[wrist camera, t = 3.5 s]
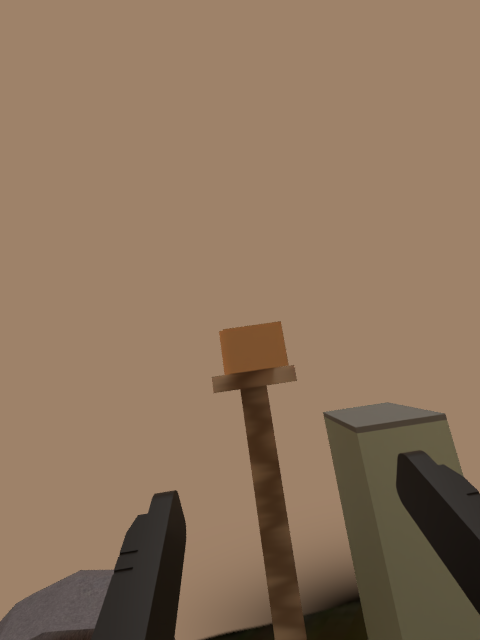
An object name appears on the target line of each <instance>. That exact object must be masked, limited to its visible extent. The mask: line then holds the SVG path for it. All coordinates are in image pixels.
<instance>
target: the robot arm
mask: <svg viewBox="0 0 480 640" xmlns="http://www.w3.org/2000/svg"><path fill="white" fill-rule="evenodd" d="M396 489H397V493H398V496H399V498H400V500H401V502H402V504H403V506H404V507H405V509H406V510H407V511H408V513H409V514H410V516H411V517H412V519H413V520H414V521H415V523H416V524H417V526H418V527H419V529H420V530H421V532H422V533H423V534H424V536H425V537H426V539H427V540H428V542H429V543H430V544H431V546H432V547H433V549H434V550H435V552H436V553H437V554H438V556H439V557H440V559H441V560H442V562H443V563H444V565H445V566H446V567H447V569H448V570H449V572H450V573H451V575H452V576H453V577H454V579H455V580H456V582H457V583H458V585H459V586H460V587H461V589H462V590H463V592H464V593H465V595H466V596H467V598H468V599H469V600H470V602H471V603H472V605H473V606H474V608H475V609H476V610H477V612H478V613H479V615H480V494H479V492H478V490H477V489H476V488H475V487H474V486H472V485H471V484H470V483H469V482H468V481H467V480H466V479H465V478H464V477H463V476H462V475H460V474H458V473H457V472H455V471H454V470H452V469H450V468H449V467H447V466H446V465H444V464H442V465H437V464H436V463H435V462H434V461H433V459H432V458H431V457H430V456H429V455H428V454H426V453H425V452H424V451H422V450H417V451H411V452H405V453H400V454H398V458H397V475H396ZM185 545H186V523H185V518H184V515H183V511H182V507H181V503H180V499H179V495H178V493H177V491H176V490H175V491H170V492H163V493H157V494H154V496H153V498H152V501H151V505H150V508H149V512H148V514H143V515H138V516H137V518H136V519H135V521H134V522H133V524H132V525H131V527H130V528H129V530H128V531H127V533H126V536H125V539H124V542H123V545H122V548H121V551H120V556H119V557H118V560H117V563H116V566H115V569H114V574H113V575H112V578H111V581H110V584H109V587H108V590H107V593H106V596H105V599H104V602H103V605H102V608H101V611H100V614H99V617H98V620H97V623H96V626H95V629H94V632H93V635H92V638H91V640H174V635H175V627H176V619H177V610H178V602H179V594H180V586H181V578H182V570H183V562H184V553H185Z"/></svg>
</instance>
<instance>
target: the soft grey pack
mask: <svg viewBox="0 0 480 640" xmlns="http://www.w3.org/2000/svg"><path fill="white" fill-rule="evenodd" d="M113 574H114V570H80V571H78V572H76V573H74V574H72V575H70V576H68V577H66V578H64V579H62V580H60V581H58V582H56V583H54V584H52V585H50V586H48V587H46V588H44V589H42V590H40V591H38V592H36V593H34V594H32V595H30V596H29V597H27V598H25V599H23V600H22V601H20V602H18V603H17V604H15V606H14V607H13V608H12V609H11V610H10V611H9V613H8V614H7V615H6V616H5V617H4V618H3V619H2V621H1V622H0V640H91V638H92V635H93V632H94V629H95V626H96V623H97V620H98V617H99V614H100V611H101V608H102V605H103V602H104V599H105V596H106V593H107V590H108V587H109V584H110V581H111V578H112V575H113ZM174 640H175V638H174Z"/></svg>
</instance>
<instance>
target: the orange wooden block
mask: <svg viewBox="0 0 480 640" xmlns="http://www.w3.org/2000/svg"><path fill="white" fill-rule="evenodd" d="M219 334H220V342H221V349H222V357H223V365H224V372H225V375H229V374H236V373H243V372H250V371H257V370H263V369H270V368H277V367H282V366H288V359H287V354H286V349H285V343H284V337H283V331H282V326H281V322H272V323H266V324H259V325H252V326H244V327H237V328H230V329H224V330H223V331H220V332H219Z"/></svg>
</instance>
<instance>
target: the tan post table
mask: <svg viewBox="0 0 480 640" xmlns="http://www.w3.org/2000/svg"><path fill="white" fill-rule="evenodd" d="M291 381H297V379H296V373H295V368H294V365H291V366H284V367H277V368H270V369H263V370H257V371H250V372H243V373H236V374H229V375H223V376H215V377H212V382H213V391H214V393H217V392H224V391H231V390H238V389H240V390H241V397H242V404H243V411H244V419H245V426H246V433H247V440H248V448H249V455H250V462H251V470H252V476H253V484H254V491H255V498H256V506H257V513H258V520H259V527H260V535H261V542H262V549H263V556H264V564H265V571H266V577H267V585H268V592H269V599H270V607H271V614H272V622H273V629H274V636H275V640H307V638H306V632H305V625H304V619H303V613H302V607H301V600H300V594H299V587H298V581H297V575H296V569H295V562H294V556H293V550H292V543H291V537H290V531H289V524H288V518H287V512H286V506H285V499H284V493H283V487H282V481H281V474H280V468H279V461H278V455H277V449H276V443H275V436H274V430H273V424H272V417H271V411H270V405H269V398H268V392H267V386H266V385H272V384H279V383H285V382H291Z"/></svg>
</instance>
